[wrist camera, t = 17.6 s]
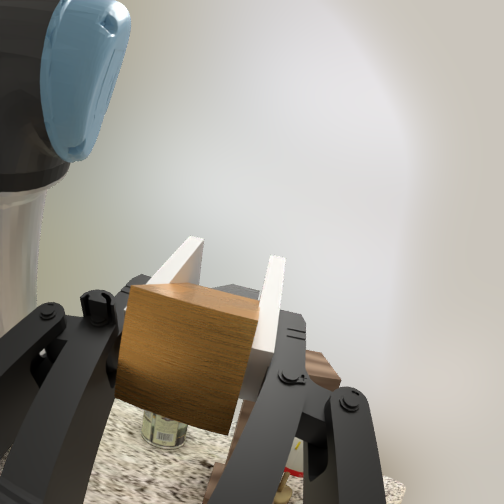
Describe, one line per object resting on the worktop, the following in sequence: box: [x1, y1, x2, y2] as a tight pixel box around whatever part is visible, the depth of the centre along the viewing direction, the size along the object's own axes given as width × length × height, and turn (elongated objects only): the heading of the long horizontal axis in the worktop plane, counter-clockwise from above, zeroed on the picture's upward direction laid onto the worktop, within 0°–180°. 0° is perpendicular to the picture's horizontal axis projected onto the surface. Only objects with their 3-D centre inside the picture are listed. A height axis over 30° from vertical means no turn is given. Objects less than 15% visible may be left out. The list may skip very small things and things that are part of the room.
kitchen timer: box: [284, 437, 303, 477], centre depth 54 cm, size 14×14×15 cm
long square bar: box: [114, 283, 260, 436], centre depth 19 cm, size 24×3×3 cm, turn 178°
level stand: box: [202, 350, 341, 504], centre depth 40 cm, size 15×17×30 cm
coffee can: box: [141, 410, 188, 449], centre depth 53 cm, size 10×10×14 cm
